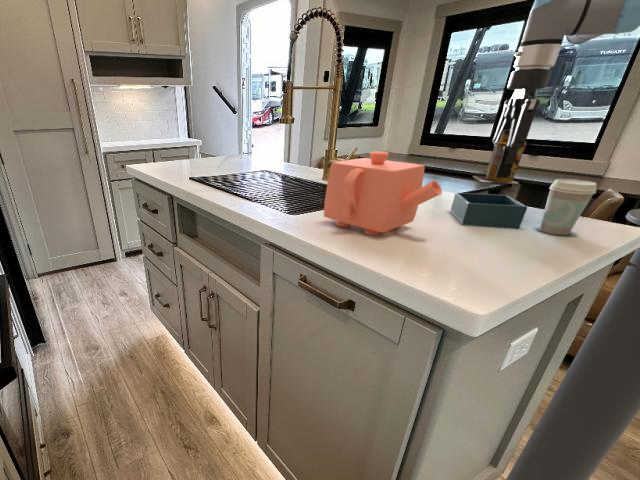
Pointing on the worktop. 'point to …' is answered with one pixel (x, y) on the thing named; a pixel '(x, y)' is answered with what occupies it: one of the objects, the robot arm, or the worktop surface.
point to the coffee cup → (566, 205)
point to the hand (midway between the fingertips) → (496, 175)
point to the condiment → (496, 160)
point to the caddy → (488, 210)
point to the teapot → (376, 192)
